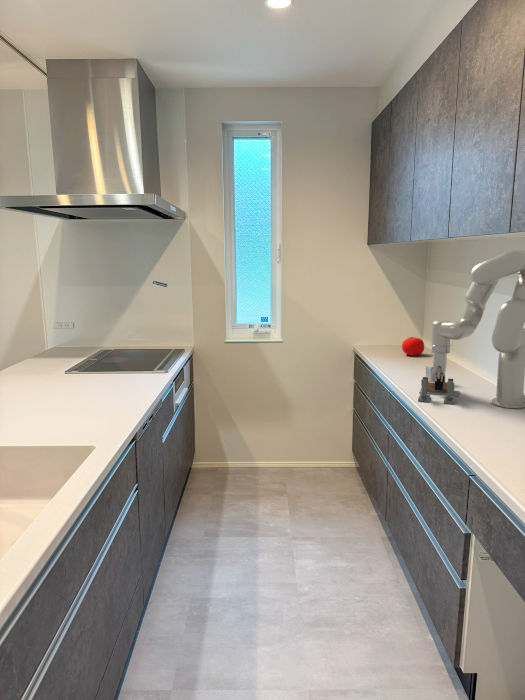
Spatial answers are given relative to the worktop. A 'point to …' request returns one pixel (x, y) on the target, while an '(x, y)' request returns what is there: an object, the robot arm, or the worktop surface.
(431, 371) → the medicine box
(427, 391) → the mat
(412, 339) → the tomato
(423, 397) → the stand
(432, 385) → the tan wooden bar
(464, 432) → the worktop surface
